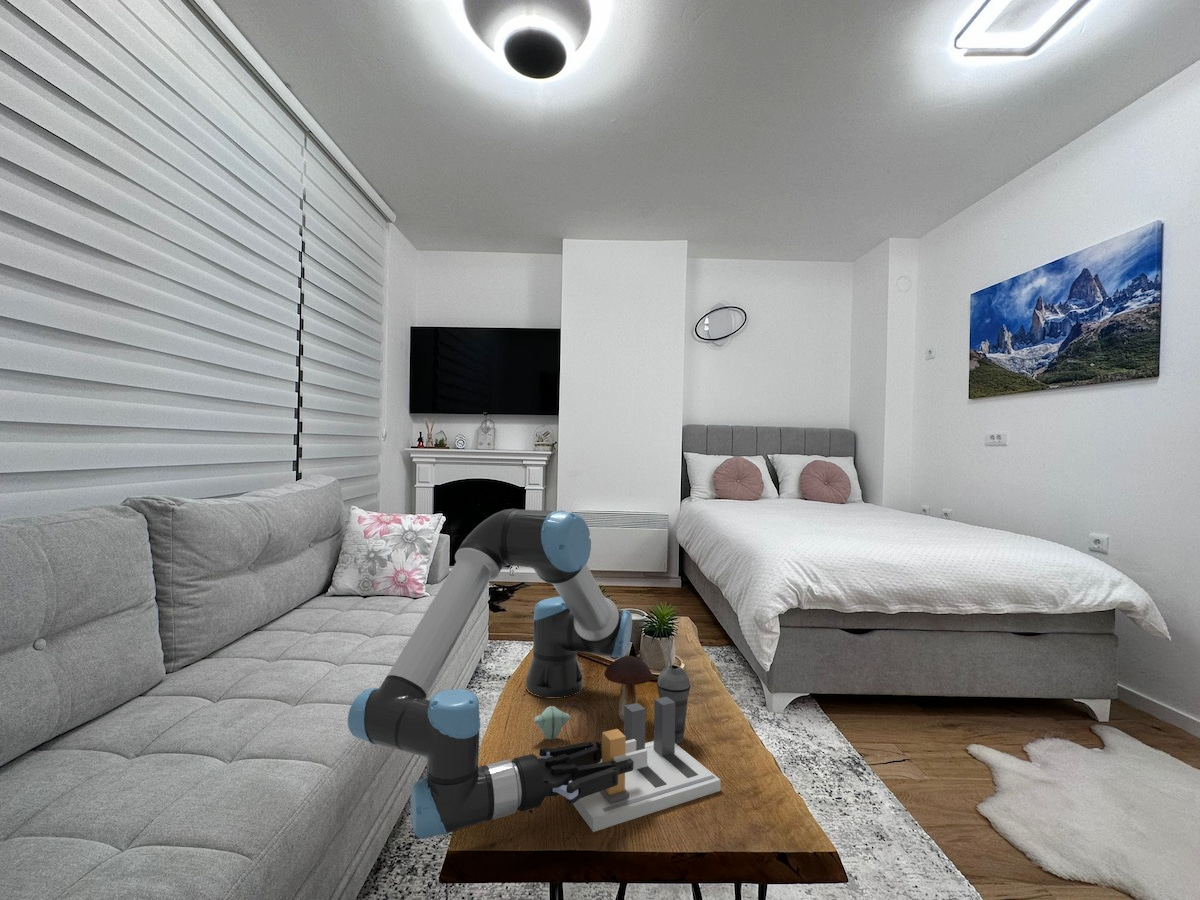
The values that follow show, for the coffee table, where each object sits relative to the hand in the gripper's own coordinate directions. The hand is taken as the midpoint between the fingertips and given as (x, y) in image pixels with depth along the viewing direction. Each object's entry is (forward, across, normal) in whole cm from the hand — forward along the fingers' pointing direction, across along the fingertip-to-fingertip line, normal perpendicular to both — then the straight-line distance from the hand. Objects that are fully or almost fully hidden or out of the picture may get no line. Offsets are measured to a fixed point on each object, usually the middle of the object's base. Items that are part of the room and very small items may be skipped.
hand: (640, 752), depth 97 cm
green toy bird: (-6, -26, -8) cm, 28 cm away
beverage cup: (+18, -15, -8) cm, 24 cm away
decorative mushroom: (+13, -26, -8) cm, 30 cm away
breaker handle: (-5, 0, -6) cm, 8 cm away
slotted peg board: (+2, -4, -8) cm, 9 cm away
